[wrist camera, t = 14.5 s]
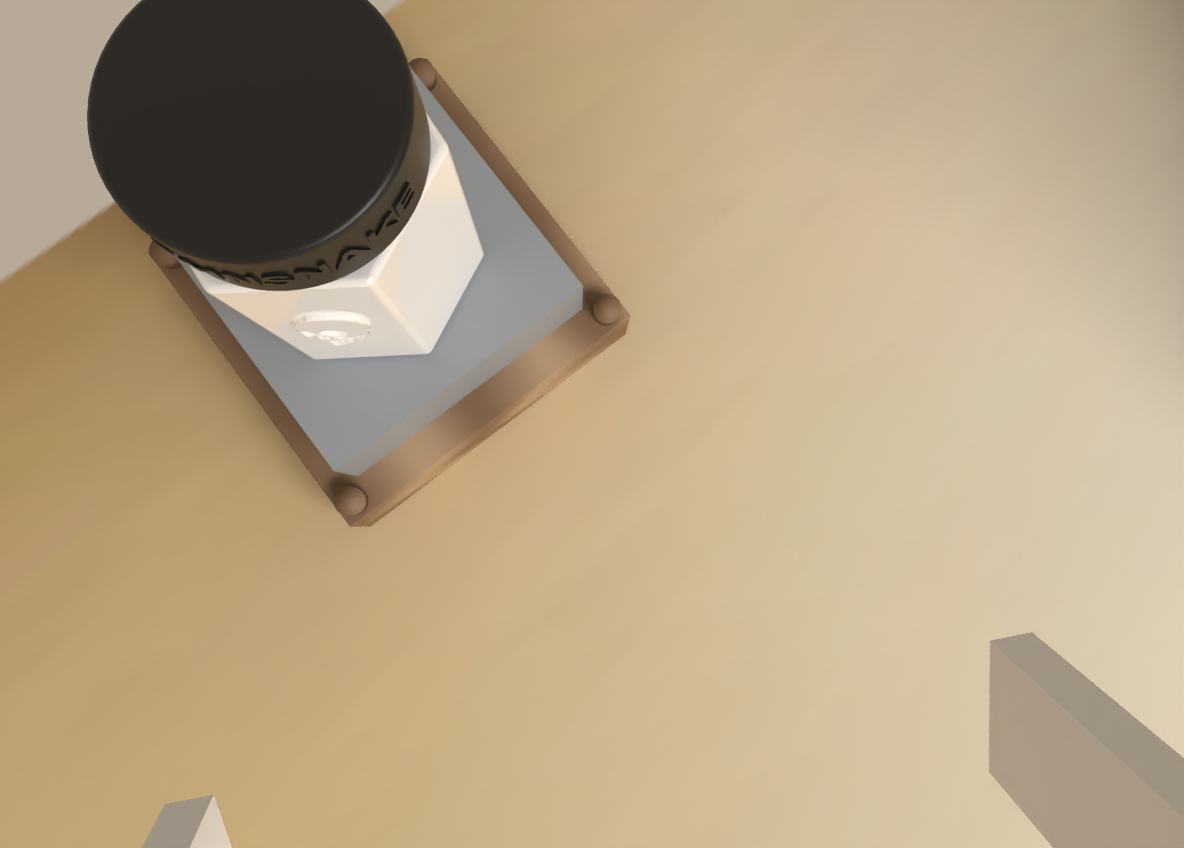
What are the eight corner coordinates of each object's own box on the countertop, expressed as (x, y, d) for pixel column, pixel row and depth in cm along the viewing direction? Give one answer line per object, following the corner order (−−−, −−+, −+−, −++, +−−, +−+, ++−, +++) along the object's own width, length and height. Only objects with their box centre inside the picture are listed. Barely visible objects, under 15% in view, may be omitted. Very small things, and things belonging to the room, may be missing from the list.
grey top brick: (419, 102, 36) (403, 58, 33) (582, 309, 35) (582, 285, 32) (196, 258, 35) (155, 229, 32) (357, 476, 34) (333, 471, 31)
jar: (256, 369, 31) (60, 273, 19) (255, 167, 32) (68, -40, 20) (488, 357, 32) (436, 256, 20) (480, 158, 32) (426, -53, 21)
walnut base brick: (439, 98, 40) (423, 48, 36) (625, 333, 39) (631, 310, 35) (186, 276, 39) (138, 246, 35) (370, 526, 38) (344, 526, 33)
